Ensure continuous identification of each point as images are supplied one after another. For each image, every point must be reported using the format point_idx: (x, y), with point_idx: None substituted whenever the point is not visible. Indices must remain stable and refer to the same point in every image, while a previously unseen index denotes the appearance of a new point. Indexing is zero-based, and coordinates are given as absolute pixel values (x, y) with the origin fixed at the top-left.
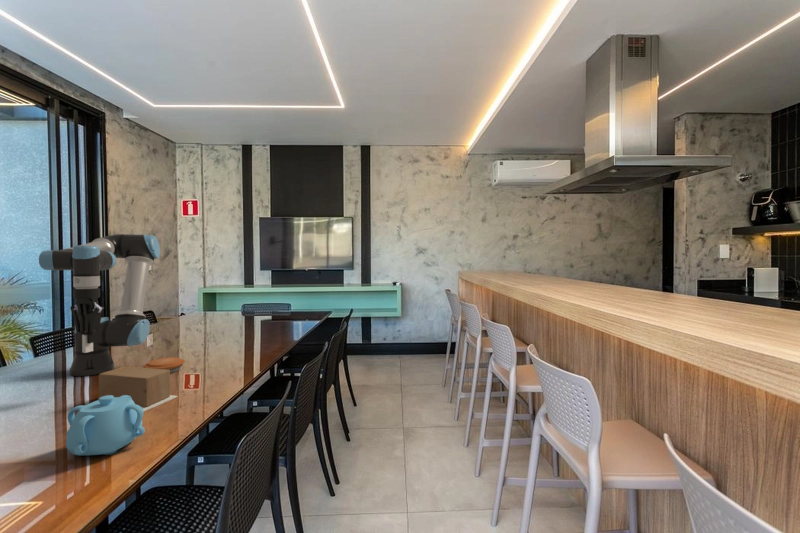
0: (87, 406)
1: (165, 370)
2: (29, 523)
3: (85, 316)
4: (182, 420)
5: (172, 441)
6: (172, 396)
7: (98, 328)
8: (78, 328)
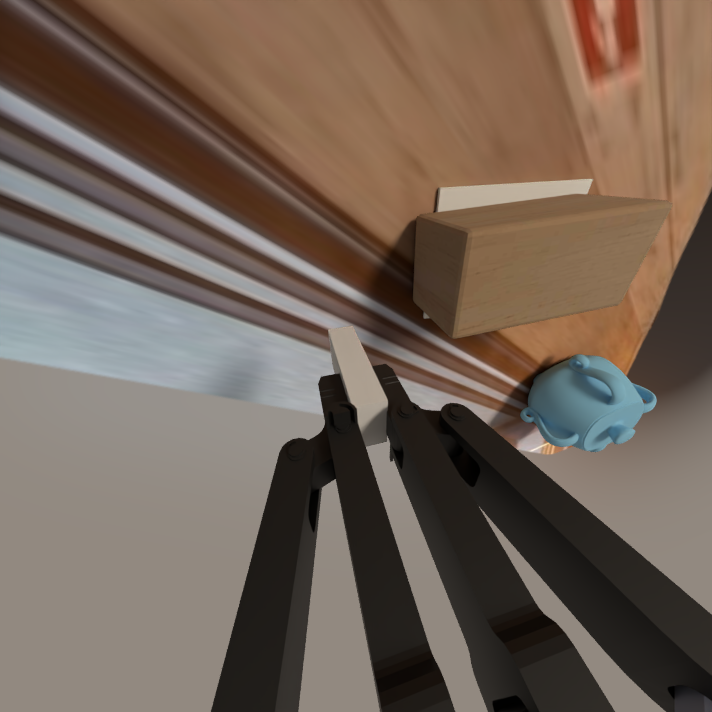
0: (589, 441)
1: (661, 219)
2: (563, 448)
3: (471, 645)
4: (635, 287)
5: (634, 341)
6: (580, 188)
7: (487, 431)
8: (319, 504)
